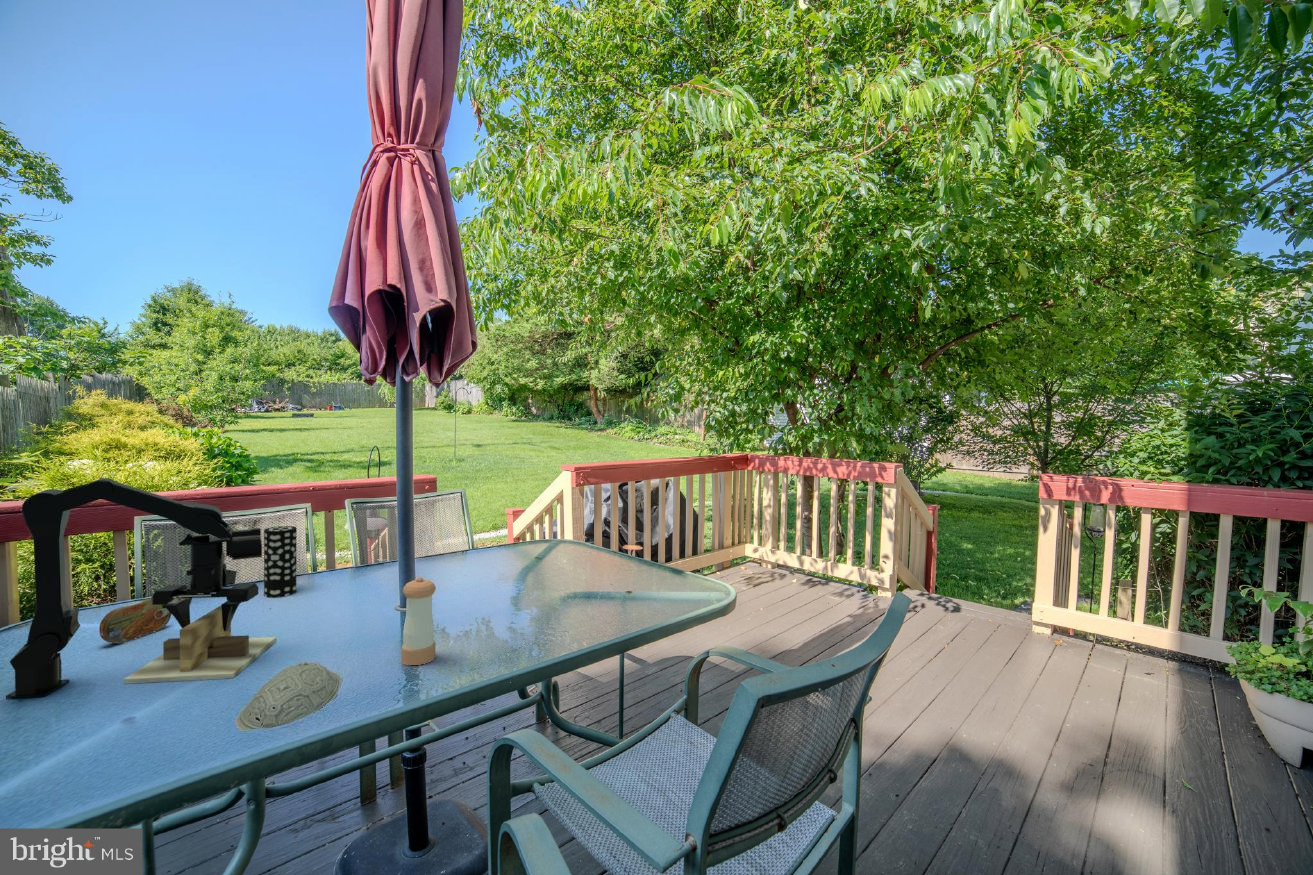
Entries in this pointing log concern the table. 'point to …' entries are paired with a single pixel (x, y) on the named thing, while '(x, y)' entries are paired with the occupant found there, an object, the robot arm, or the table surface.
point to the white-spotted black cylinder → (280, 561)
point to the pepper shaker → (418, 623)
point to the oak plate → (200, 639)
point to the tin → (133, 621)
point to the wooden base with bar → (221, 663)
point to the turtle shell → (290, 696)
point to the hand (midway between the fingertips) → (206, 631)
